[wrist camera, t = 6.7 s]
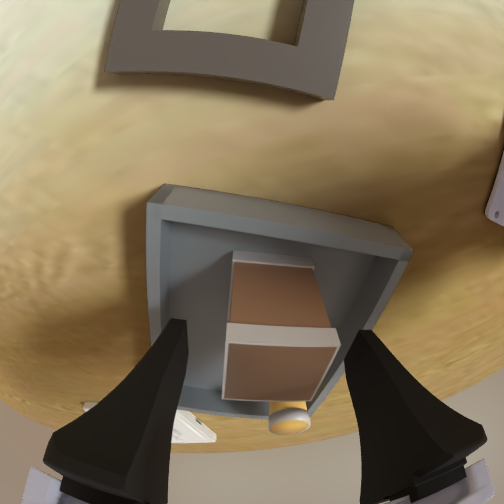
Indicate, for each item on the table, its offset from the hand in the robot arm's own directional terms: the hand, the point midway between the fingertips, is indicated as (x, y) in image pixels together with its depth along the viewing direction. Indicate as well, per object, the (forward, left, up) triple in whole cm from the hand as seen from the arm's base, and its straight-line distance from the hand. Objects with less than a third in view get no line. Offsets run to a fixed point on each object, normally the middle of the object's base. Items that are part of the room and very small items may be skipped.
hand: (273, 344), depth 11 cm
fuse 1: (0, 0, -4) cm, 4 cm away
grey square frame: (+4, -14, -4) cm, 15 cm away
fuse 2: (-3, +8, -4) cm, 9 cm away
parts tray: (0, +3, -4) cm, 5 cm away
